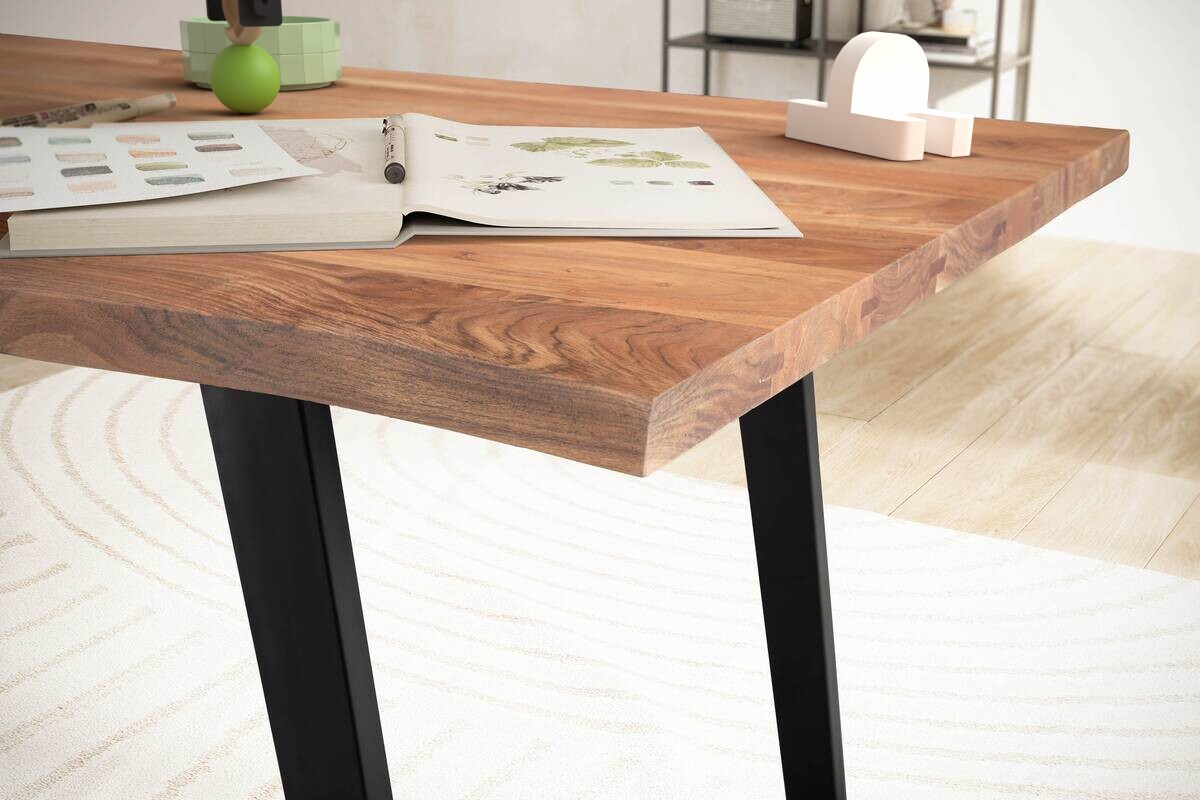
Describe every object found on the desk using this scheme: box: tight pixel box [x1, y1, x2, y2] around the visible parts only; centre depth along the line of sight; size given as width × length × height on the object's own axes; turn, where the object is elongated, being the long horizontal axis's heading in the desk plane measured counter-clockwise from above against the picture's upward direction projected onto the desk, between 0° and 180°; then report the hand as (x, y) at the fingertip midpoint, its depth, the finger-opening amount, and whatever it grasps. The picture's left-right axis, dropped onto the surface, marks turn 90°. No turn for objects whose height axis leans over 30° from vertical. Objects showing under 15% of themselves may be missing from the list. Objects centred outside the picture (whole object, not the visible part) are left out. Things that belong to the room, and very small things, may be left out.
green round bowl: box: [178, 14, 343, 92], centre depth 122 cm, size 15×15×6 cm
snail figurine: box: [210, 0, 281, 114], centre depth 100 cm, size 5×6×12 cm
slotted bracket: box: [785, 30, 975, 162], centre depth 91 cm, size 13×7×8 cm, turn 29°
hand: (244, 21), depth 100 cm, fingers open, 6 cm apart
